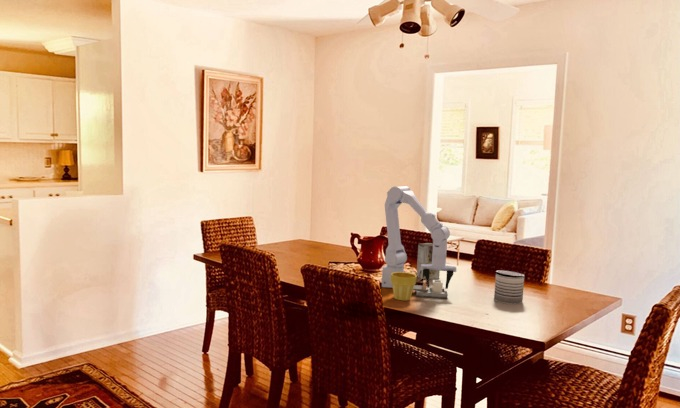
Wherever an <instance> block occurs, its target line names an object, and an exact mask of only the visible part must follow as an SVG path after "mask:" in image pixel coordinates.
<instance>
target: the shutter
mask: <svg viewBox="0 0 680 408" xmlns="http://www.w3.org/2000/svg"><path fill="white" fill-rule="evenodd" d="M426 286H427V280H426V279H423V280H422V285H421V284H420V285H418V284H415V285H414V288H413V291H416V290H418V291H426Z"/></svg>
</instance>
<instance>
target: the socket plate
mask: <svg viewBox="0 0 680 408" xmlns="http://www.w3.org/2000/svg"><path fill="white" fill-rule="evenodd" d="M415 291H416V292H415V293H416V295H415V296H416V298H417V297H418V298H426V299H427V298H428V299H430V298H432V299H441V300H447V299H448V294H449V293H448V289H446V286H444V287H442V292H432V285H431V286H430V285H429V287H427V285H426V291H418V290H415Z"/></svg>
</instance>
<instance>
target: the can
mask: <svg viewBox="0 0 680 408" xmlns="http://www.w3.org/2000/svg"><path fill="white" fill-rule="evenodd" d="M495 272H496V273H495V282H494V294H493V300H494V301H496V302H498V303H502V304H507V305H519V304H520V305H521V304H522V303H523V301H524V299H523V298H524V287H525V285H524V284H525V274H523V273H520V272H516V271H509V270H500V269H499V270H496V271H495Z"/></svg>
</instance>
